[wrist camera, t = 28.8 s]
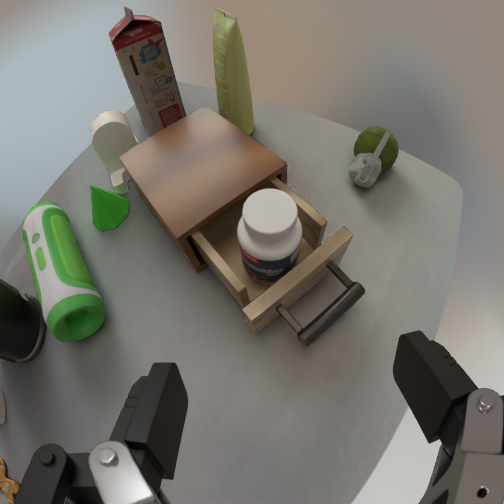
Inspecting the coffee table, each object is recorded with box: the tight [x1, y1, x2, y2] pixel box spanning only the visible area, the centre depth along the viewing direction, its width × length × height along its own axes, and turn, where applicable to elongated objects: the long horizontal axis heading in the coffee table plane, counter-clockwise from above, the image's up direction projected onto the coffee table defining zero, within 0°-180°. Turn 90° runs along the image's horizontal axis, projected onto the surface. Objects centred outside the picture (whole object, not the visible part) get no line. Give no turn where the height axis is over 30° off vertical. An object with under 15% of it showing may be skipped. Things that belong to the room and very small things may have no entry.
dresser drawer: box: [187, 177, 365, 347], centre depth 27 cm, size 18×11×6 cm, turn 39°
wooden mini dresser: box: [119, 106, 287, 273], centre depth 31 cm, size 15×13×8 cm
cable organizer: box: [91, 110, 139, 195], centre depth 34 cm, size 5×10×10 cm, turn 27°
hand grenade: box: [349, 126, 398, 187], centre depth 33 cm, size 6×6×10 cm
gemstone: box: [91, 186, 129, 231], centre depth 33 cm, size 6×6×6 cm
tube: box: [213, 7, 254, 135], centre depth 32 cm, size 6×5×20 cm
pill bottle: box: [237, 189, 302, 285], centre depth 24 cm, size 5×5×9 cm
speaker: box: [23, 202, 105, 342], centre depth 28 cm, size 18×7×8 cm, turn 39°
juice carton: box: [109, 7, 186, 137], centre depth 33 cm, size 7×7×22 cm
